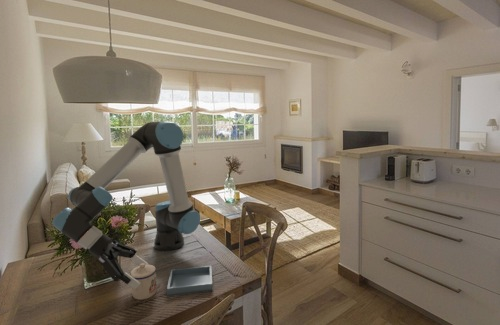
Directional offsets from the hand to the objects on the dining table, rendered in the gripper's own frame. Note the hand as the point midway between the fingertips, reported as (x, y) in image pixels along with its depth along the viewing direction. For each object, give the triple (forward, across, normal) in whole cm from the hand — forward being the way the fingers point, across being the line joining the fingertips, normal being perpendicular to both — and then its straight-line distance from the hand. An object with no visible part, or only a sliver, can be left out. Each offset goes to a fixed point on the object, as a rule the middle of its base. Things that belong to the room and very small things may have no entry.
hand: (142, 275), depth 104 cm
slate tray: (+17, -2, +8) cm, 19 cm away
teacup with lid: (+5, 0, -4) cm, 7 cm away
